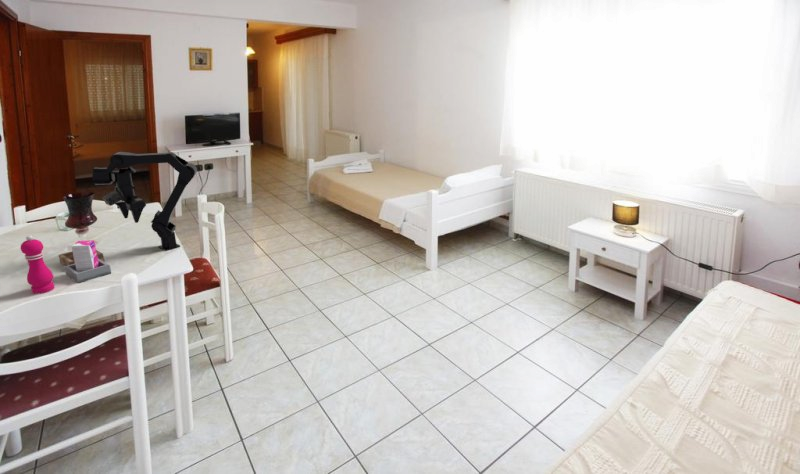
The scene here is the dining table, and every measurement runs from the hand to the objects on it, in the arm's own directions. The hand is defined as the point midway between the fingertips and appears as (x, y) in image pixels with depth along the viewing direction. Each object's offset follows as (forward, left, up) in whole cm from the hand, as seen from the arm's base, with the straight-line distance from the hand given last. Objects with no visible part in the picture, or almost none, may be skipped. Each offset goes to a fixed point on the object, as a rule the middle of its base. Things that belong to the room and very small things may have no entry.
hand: (131, 220), depth 192 cm
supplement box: (-12, +23, -12) cm, 28 cm away
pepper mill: (-14, +38, -13) cm, 43 cm away
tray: (-12, +23, -13) cm, 29 cm away
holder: (+2, +20, -13) cm, 24 cm away
